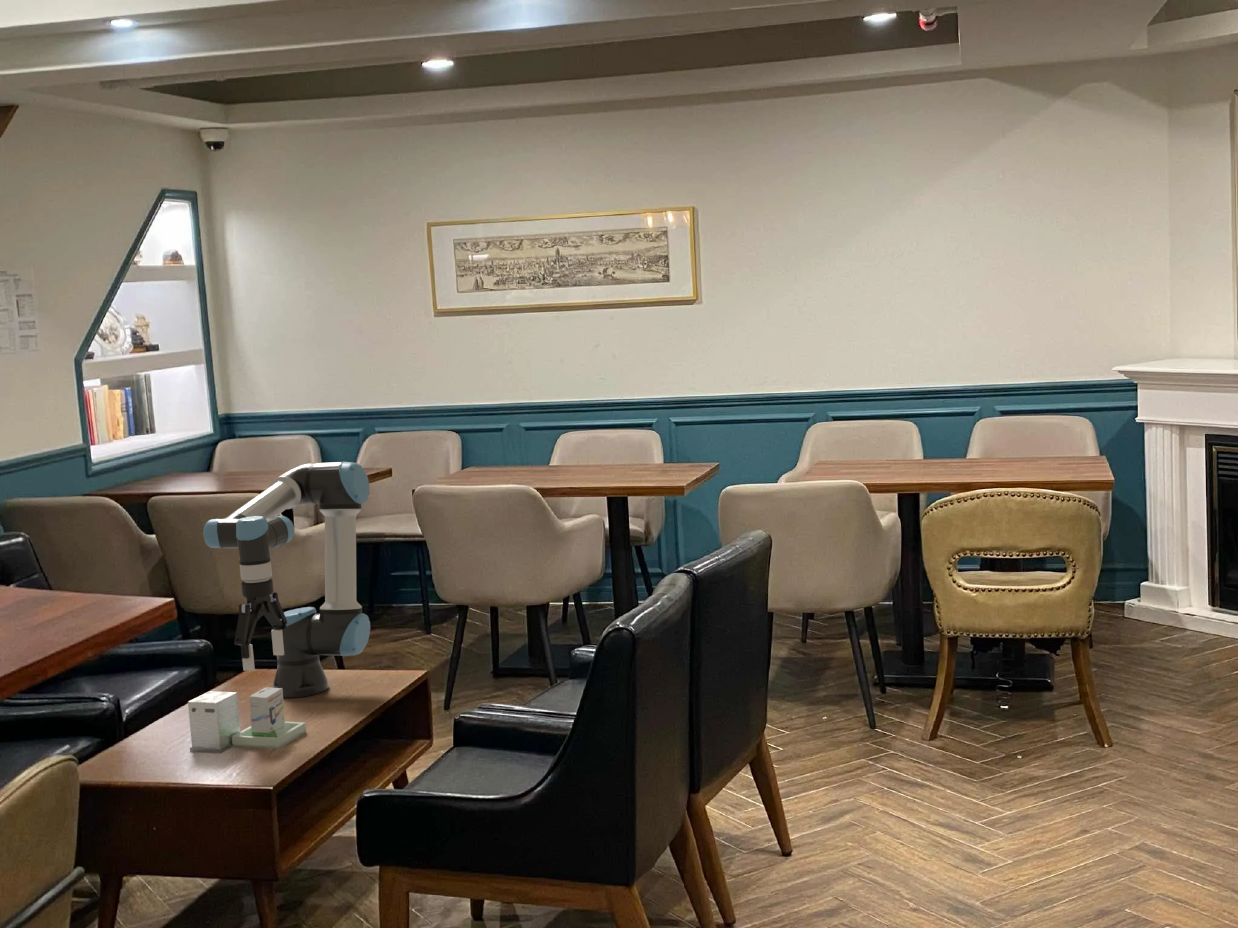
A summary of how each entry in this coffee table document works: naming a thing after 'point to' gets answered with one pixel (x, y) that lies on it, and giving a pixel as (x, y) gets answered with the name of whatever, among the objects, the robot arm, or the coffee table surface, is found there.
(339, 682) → the coffee table surface
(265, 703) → the ink box
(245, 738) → the tray
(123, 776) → the coffee table surface
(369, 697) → the coffee table surface
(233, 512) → the robot arm
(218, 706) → the unit
